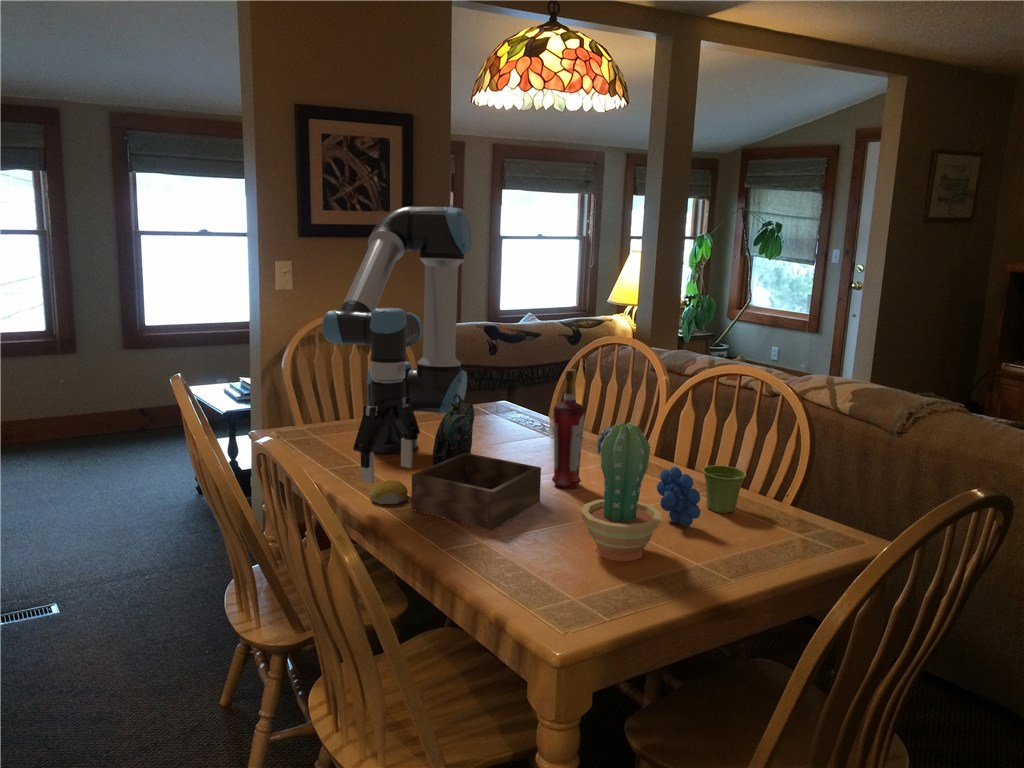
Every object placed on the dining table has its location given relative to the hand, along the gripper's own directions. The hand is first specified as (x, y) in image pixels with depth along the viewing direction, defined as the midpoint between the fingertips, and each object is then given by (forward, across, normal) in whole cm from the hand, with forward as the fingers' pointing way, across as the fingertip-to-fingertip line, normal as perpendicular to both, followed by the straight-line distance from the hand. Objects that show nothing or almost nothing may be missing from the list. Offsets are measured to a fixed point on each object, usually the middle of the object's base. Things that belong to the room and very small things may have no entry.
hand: (387, 474), depth 178 cm
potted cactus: (+6, +2, -55) cm, 55 cm away
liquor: (+6, +32, -29) cm, 43 cm away
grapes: (+6, +22, -59) cm, 63 cm away
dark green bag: (+6, +22, -3) cm, 23 cm away
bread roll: (+6, 0, 0) cm, 6 cm away
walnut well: (+6, +8, -19) cm, 21 cm away
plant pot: (+6, +36, -65) cm, 75 cm away
